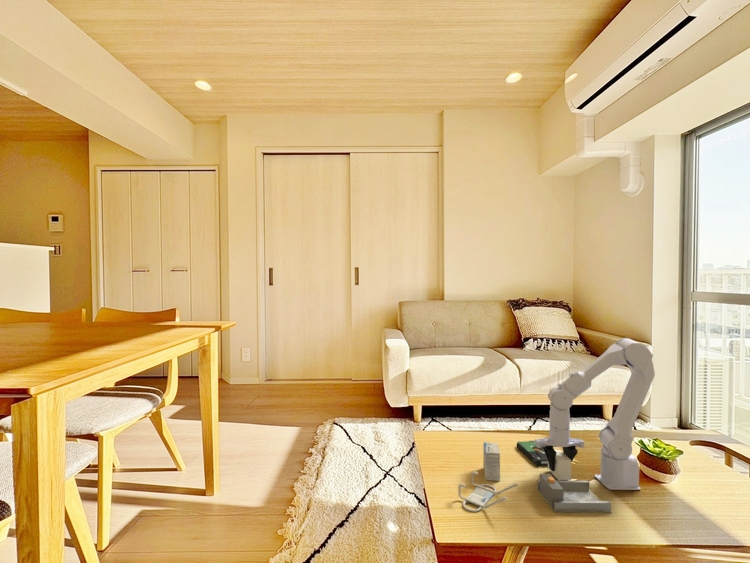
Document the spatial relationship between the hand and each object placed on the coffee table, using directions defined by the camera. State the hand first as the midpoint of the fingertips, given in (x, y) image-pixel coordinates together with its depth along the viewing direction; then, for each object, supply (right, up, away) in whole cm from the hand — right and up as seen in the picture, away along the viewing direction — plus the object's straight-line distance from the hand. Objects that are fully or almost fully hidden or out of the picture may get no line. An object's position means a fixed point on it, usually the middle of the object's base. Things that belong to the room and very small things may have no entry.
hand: (559, 469), depth 122 cm
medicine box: (-21, -2, +1) cm, 21 cm away
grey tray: (-2, -2, -13) cm, 13 cm away
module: (0, -2, 0) cm, 2 cm away
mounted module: (-8, -2, -13) cm, 16 cm away
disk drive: (0, -3, +14) cm, 14 cm away
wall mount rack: (-26, -3, -14) cm, 30 cm away
